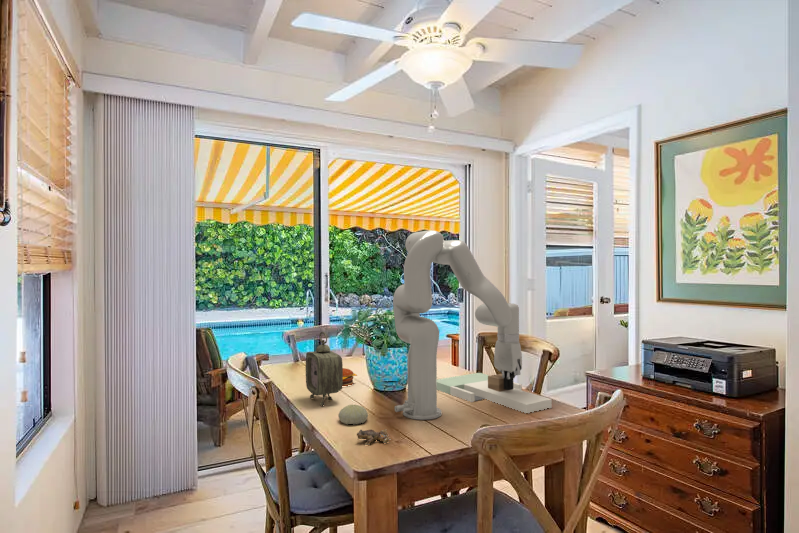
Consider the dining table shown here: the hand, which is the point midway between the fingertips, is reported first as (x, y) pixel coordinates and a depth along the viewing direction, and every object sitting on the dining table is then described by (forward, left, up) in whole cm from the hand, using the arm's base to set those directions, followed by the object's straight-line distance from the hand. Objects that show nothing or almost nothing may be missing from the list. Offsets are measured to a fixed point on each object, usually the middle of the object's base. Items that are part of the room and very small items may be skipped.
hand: (508, 389), depth 176 cm
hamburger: (-40, +54, -4) cm, 67 cm away
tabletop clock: (-56, +35, -4) cm, 66 cm away
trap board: (0, +8, -4) cm, 9 cm away
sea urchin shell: (-57, +10, -5) cm, 58 cm away
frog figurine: (-60, -8, -5) cm, 60 cm away
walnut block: (+1, +5, -1) cm, 6 cm away
